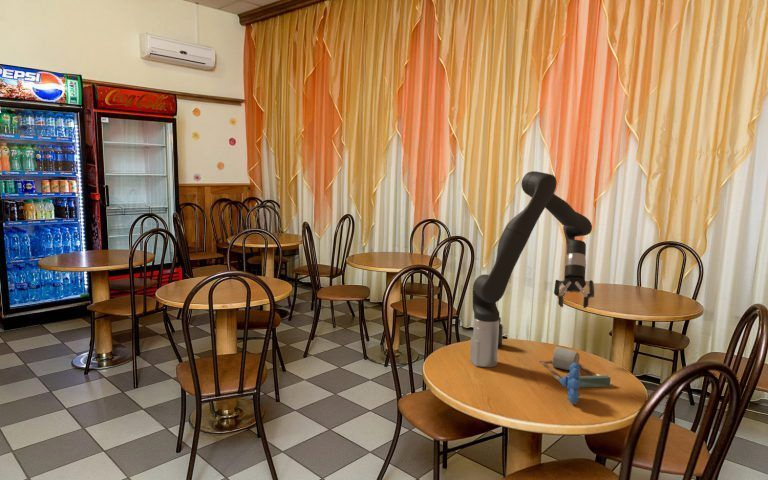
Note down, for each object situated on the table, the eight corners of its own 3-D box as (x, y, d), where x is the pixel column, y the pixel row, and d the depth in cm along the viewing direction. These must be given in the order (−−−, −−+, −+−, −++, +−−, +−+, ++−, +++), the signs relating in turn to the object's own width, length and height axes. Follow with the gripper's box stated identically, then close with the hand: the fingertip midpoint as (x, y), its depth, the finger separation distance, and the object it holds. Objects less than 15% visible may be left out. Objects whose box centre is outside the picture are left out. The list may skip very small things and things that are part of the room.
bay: (536, 362, 186) (536, 354, 185) (578, 360, 188) (578, 353, 188) (565, 387, 163) (566, 379, 163) (613, 386, 165) (614, 377, 165)
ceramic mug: (574, 374, 175) (576, 353, 174) (551, 369, 179) (552, 349, 178) (581, 366, 183) (582, 346, 182) (558, 361, 188) (560, 341, 187)
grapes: (558, 391, 160) (560, 355, 159) (580, 394, 158) (582, 358, 157) (558, 406, 150) (560, 368, 148) (581, 410, 147) (584, 372, 146)
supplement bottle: (504, 344, 205) (505, 316, 203) (498, 349, 199) (500, 320, 198) (488, 341, 208) (490, 314, 207) (482, 346, 203) (484, 317, 201)
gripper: (554, 263, 192) (551, 303, 187) (592, 263, 184) (591, 305, 179) (558, 269, 198) (556, 308, 193) (596, 269, 190) (595, 310, 185)
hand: (573, 307), depth 186 cm, fingers open, 8 cm apart
